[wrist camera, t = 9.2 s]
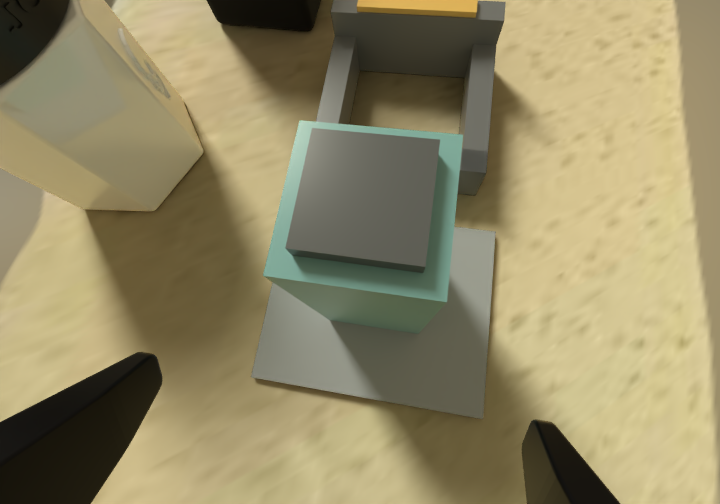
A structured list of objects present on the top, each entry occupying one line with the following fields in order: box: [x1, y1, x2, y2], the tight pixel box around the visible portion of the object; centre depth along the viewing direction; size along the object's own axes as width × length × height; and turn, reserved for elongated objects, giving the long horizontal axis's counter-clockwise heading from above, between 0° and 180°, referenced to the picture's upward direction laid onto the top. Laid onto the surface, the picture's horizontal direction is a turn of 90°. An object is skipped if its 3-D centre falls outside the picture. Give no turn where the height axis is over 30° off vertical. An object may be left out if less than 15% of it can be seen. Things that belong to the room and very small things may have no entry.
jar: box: [0, 0, 203, 211], centre depth 17 cm, size 9×8×12 cm
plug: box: [263, 120, 463, 334], centre depth 14 cm, size 4×4×11 cm
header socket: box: [316, 0, 505, 195], centre depth 20 cm, size 9×9×4 cm
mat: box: [251, 227, 496, 419], centre depth 19 cm, size 9×11×1 cm
